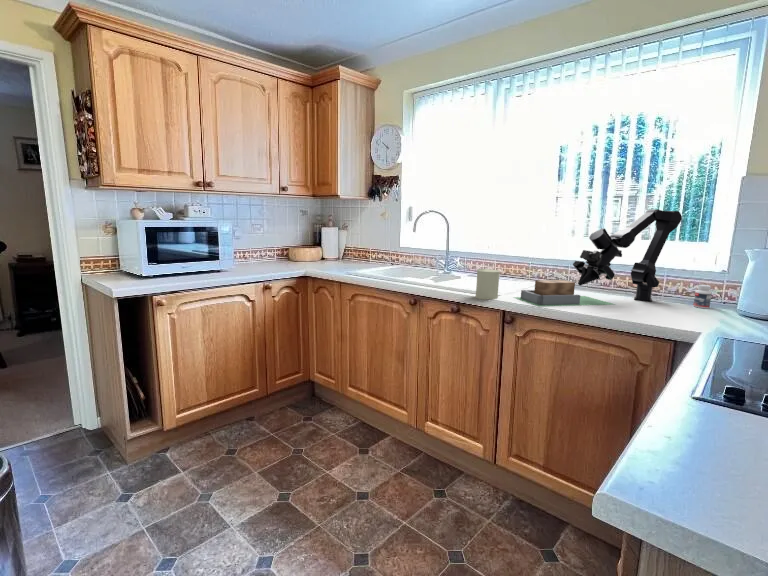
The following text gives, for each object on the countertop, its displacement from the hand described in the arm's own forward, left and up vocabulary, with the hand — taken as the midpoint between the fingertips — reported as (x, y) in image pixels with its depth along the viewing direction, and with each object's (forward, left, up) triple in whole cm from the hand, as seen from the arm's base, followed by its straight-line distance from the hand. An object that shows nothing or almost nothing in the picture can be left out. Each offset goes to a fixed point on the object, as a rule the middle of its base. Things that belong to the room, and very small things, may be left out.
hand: (579, 284), depth 173 cm
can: (+17, -33, -7) cm, 38 cm away
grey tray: (+9, -9, -7) cm, 15 cm away
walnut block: (+8, -8, -7) cm, 13 cm away
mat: (+5, -5, -7) cm, 10 cm away
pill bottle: (-20, +43, -7) cm, 48 cm away
